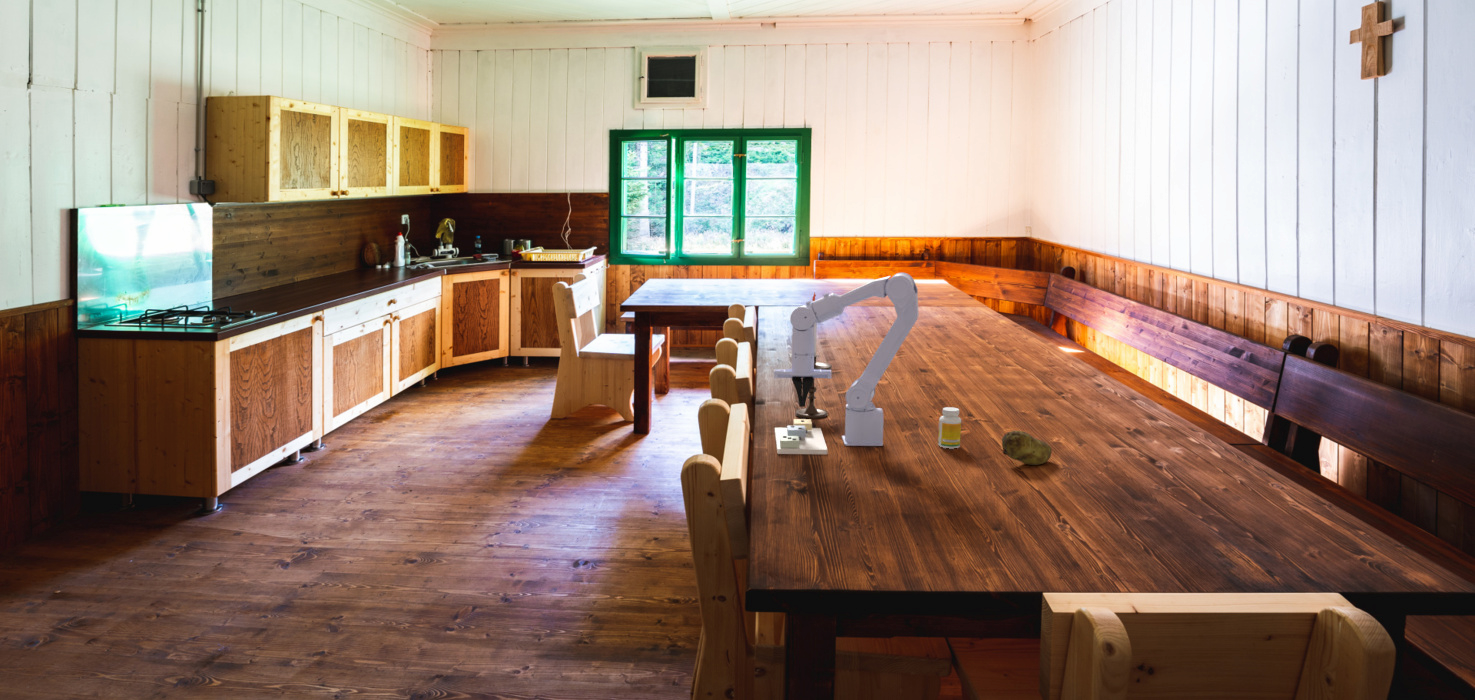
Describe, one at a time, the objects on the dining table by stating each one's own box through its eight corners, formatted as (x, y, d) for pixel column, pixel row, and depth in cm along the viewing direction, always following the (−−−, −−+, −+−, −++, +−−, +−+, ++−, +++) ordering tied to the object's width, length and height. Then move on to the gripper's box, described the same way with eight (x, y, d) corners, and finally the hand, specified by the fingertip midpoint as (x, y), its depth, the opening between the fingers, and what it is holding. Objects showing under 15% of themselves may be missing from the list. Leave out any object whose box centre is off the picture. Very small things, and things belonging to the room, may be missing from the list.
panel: (820, 432, 234) (820, 424, 233) (827, 454, 214) (827, 445, 213) (774, 432, 234) (774, 423, 233) (777, 453, 214) (777, 444, 214)
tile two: (804, 432, 225) (804, 424, 225) (805, 436, 221) (805, 429, 220) (786, 431, 225) (786, 424, 225) (787, 436, 221) (787, 429, 220)
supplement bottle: (933, 444, 223) (935, 407, 221) (952, 442, 225) (954, 405, 223) (945, 450, 218) (947, 412, 216) (964, 448, 220) (966, 410, 218)
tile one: (810, 425, 231) (810, 418, 231) (811, 430, 227) (812, 422, 227) (793, 425, 231) (793, 418, 231) (794, 429, 227) (794, 422, 227)
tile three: (798, 442, 219) (798, 435, 218) (799, 447, 214) (799, 440, 214) (779, 442, 219) (779, 435, 219) (780, 447, 214) (780, 439, 214)
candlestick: (832, 419, 247) (835, 294, 241) (793, 419, 247) (795, 294, 241) (828, 410, 258) (831, 290, 252) (791, 410, 258) (793, 289, 252)
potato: (1061, 468, 204) (1063, 434, 203) (1007, 469, 203) (1009, 435, 202) (1045, 458, 212) (1048, 425, 211) (993, 459, 211) (995, 426, 210)
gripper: (829, 350, 229) (828, 402, 231) (773, 350, 229) (772, 402, 231) (832, 355, 222) (831, 408, 224) (774, 355, 222) (774, 408, 224)
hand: (801, 405), depth 227 cm, fingers closed
